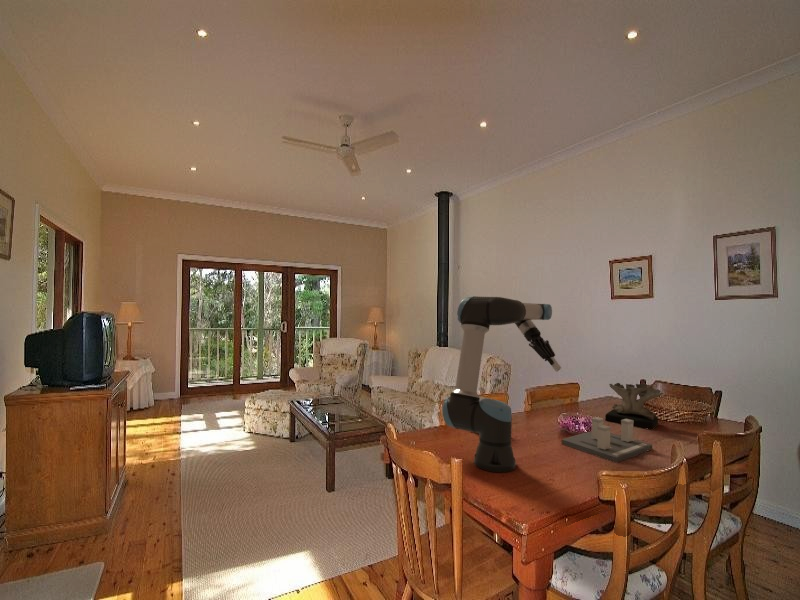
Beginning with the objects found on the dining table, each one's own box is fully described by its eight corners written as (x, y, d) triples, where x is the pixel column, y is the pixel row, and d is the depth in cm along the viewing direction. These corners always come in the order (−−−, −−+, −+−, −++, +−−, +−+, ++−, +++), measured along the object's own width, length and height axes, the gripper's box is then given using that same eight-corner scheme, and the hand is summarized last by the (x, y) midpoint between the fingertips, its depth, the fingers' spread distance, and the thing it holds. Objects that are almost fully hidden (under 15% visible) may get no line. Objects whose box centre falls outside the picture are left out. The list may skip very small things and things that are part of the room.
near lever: (604, 449, 163) (605, 428, 164) (597, 447, 166) (597, 426, 166) (610, 448, 166) (610, 426, 166) (602, 445, 168) (603, 424, 168)
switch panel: (616, 462, 157) (616, 457, 157) (561, 443, 177) (561, 439, 177) (652, 449, 172) (652, 444, 172) (597, 433, 192) (598, 429, 192)
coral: (666, 425, 206) (666, 383, 207) (656, 434, 192) (657, 389, 192) (612, 415, 224) (613, 376, 224) (600, 423, 209) (601, 381, 209)
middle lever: (598, 440, 175) (598, 420, 175) (591, 438, 178) (591, 418, 178) (603, 438, 177) (603, 418, 178) (596, 436, 180) (596, 416, 180)
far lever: (628, 442, 173) (628, 421, 173) (620, 439, 176) (621, 420, 176) (633, 440, 176) (633, 420, 176) (625, 438, 178) (626, 418, 178)
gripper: (534, 335, 210) (562, 373, 196) (516, 336, 202) (544, 375, 188) (542, 326, 205) (572, 363, 191) (525, 326, 198) (554, 365, 184)
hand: (558, 369), depth 190 cm, fingers closed
